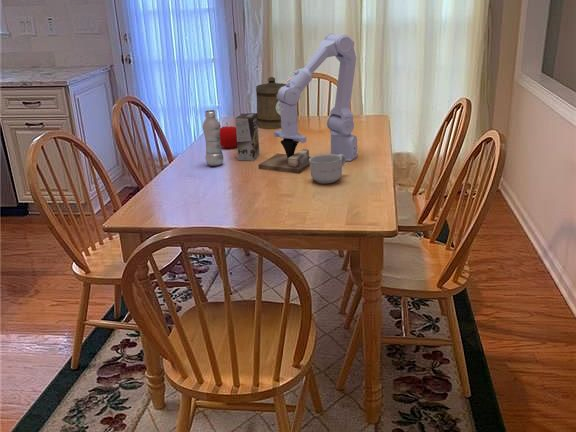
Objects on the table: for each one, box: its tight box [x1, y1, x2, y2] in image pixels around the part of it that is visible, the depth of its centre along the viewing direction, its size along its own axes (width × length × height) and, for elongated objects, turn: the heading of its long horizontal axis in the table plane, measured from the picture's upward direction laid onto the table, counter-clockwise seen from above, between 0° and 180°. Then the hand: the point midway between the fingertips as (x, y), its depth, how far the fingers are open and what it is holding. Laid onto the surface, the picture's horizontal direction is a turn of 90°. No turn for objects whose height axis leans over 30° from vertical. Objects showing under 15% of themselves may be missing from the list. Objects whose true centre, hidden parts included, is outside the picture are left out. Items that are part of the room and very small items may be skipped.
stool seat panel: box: [258, 153, 312, 174], centre depth 205 cm, size 16×15×4 cm
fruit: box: [220, 122, 237, 149], centre depth 230 cm, size 9×9×10 cm
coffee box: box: [235, 112, 261, 162], centre depth 214 cm, size 9×6×16 cm
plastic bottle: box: [202, 109, 224, 167], centre depth 206 cm, size 6×7×20 cm
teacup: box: [309, 153, 347, 184], centre depth 188 cm, size 14×11×8 cm
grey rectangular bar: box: [288, 148, 310, 167], centre depth 203 cm, size 12×3×3 cm, turn 154°
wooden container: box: [255, 76, 286, 130], centre depth 260 cm, size 15×15×22 cm
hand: (290, 159), depth 203 cm, fingers closed
